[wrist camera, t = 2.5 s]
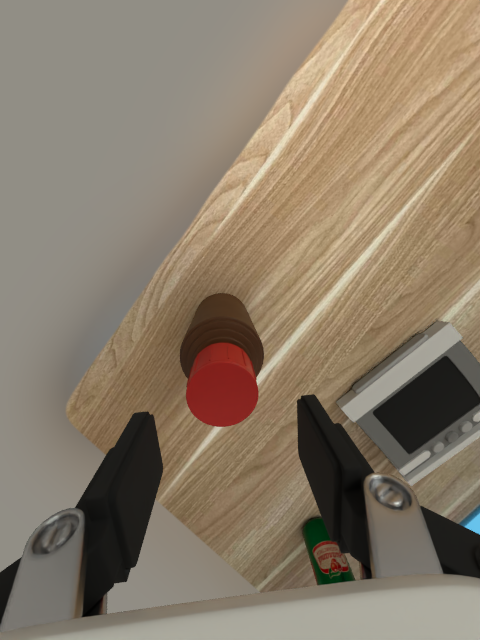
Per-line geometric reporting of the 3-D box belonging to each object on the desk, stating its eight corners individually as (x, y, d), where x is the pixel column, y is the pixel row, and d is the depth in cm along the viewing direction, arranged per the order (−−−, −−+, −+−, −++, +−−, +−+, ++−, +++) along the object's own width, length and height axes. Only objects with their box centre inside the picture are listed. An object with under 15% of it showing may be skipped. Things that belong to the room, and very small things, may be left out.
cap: (196, 399, 17) (190, 430, 14) (188, 345, 16) (181, 366, 13) (253, 393, 17) (260, 422, 14) (249, 339, 16) (256, 358, 13)
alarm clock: (411, 486, 35) (350, 421, 30) (388, 458, 39) (332, 398, 34) (516, 410, 33) (470, 327, 28) (480, 390, 37) (435, 315, 32)
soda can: (332, 513, 40) (378, 618, 28) (331, 536, 41) (374, 647, 29) (301, 516, 39) (334, 625, 28) (301, 540, 41) (332, 653, 29)
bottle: (198, 345, 31) (173, 445, 15) (192, 295, 30) (156, 344, 13) (249, 341, 32) (280, 433, 15) (245, 290, 30) (275, 333, 13)
